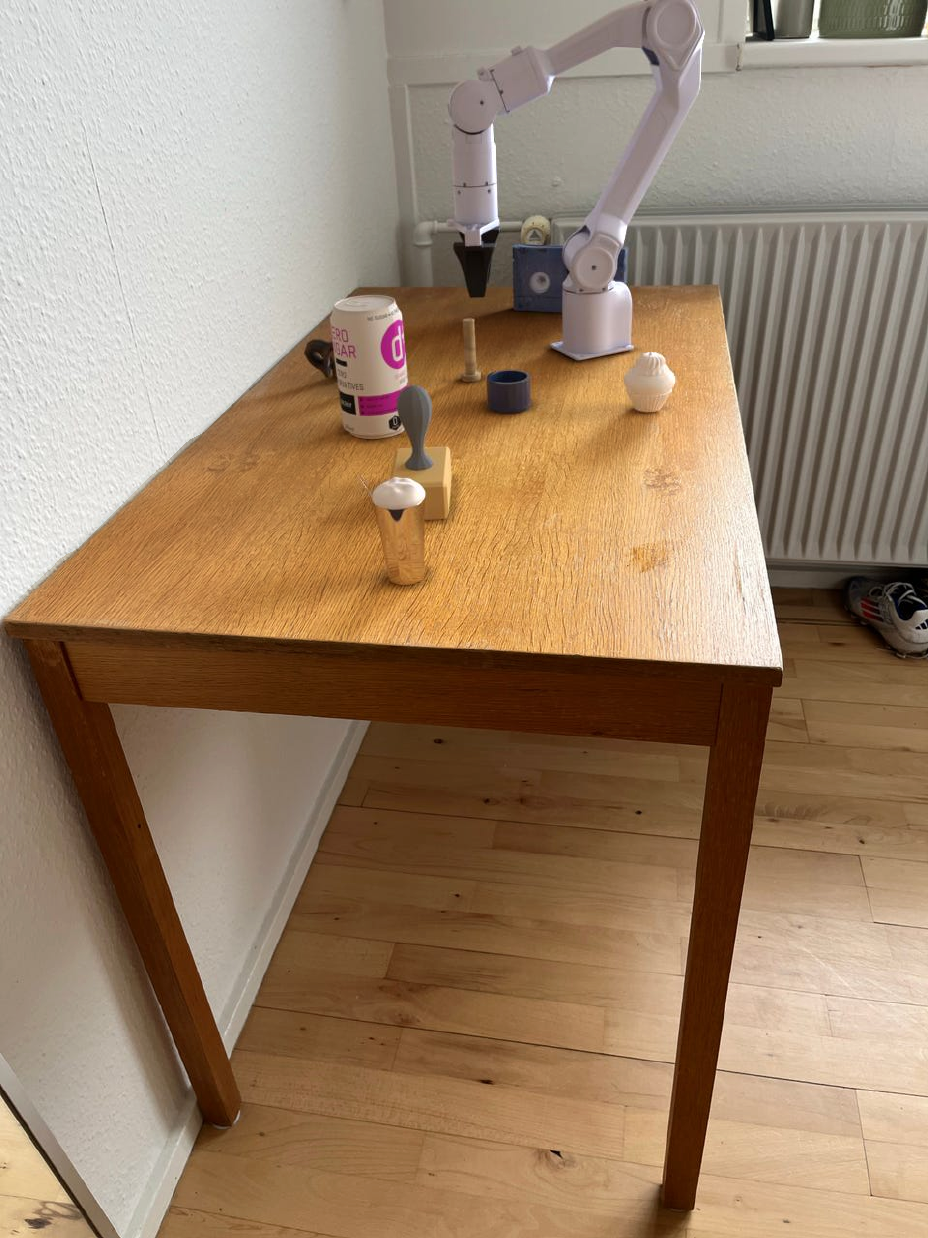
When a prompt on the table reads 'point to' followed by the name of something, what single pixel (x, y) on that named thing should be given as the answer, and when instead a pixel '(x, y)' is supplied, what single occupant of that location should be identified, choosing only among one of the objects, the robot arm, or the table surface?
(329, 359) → the pottery mug
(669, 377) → the muffin
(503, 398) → the cup
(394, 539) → the milkshake
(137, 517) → the table surface
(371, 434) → the supplement can
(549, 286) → the vhs cassette tape
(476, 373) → the beige capped rod
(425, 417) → the rubber stamp
